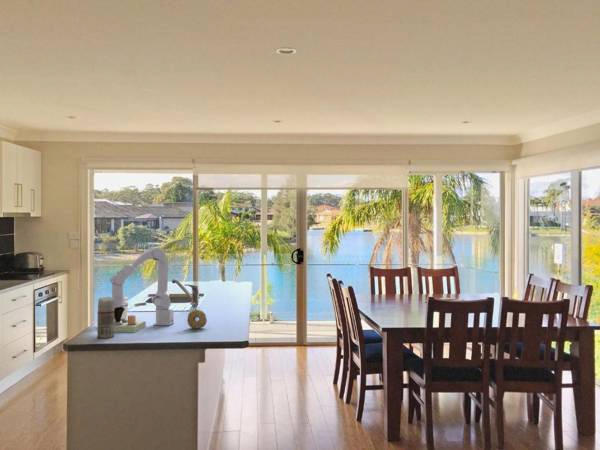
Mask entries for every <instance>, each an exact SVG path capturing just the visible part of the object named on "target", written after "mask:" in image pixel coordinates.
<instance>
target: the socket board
mask: <svg viewBox="0 0 600 450" xmlns="http://www.w3.org/2000/svg"><path fill="white" fill-rule="evenodd" d="M146 323H147V321H146V320H136V324H135V325H128V322H127V323H122V325H121V326H114V333H136V332H138V331H141V330H142V329H144V328H145V327H146V326H147V324H146Z"/></svg>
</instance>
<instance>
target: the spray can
mask: <svg viewBox="0 0 600 450" xmlns="http://www.w3.org/2000/svg"><path fill="white" fill-rule="evenodd" d="M111 297H112V296H105V297H99V299H98V303H97V329H96V330H97V335H96V336H97V338H99V339H110V338H113V337H114V333H115V332H114V299H113V298H111Z"/></svg>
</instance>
